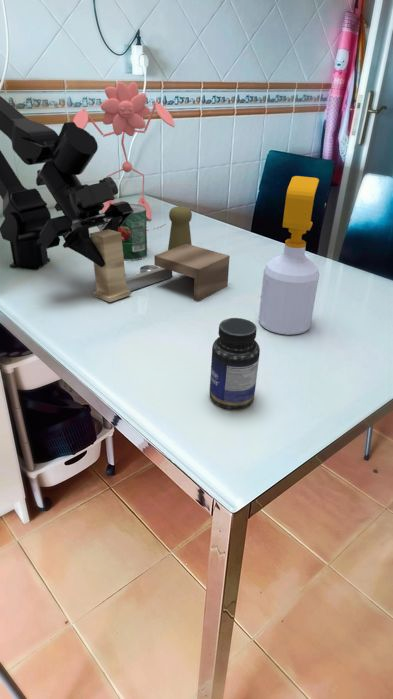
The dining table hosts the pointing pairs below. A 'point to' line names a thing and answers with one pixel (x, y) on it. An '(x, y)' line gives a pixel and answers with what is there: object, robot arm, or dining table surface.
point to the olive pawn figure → (179, 227)
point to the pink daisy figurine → (125, 121)
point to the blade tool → (118, 269)
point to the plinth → (197, 267)
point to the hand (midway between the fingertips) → (112, 262)
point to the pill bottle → (234, 364)
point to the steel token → (147, 268)
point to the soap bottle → (291, 267)
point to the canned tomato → (134, 234)
